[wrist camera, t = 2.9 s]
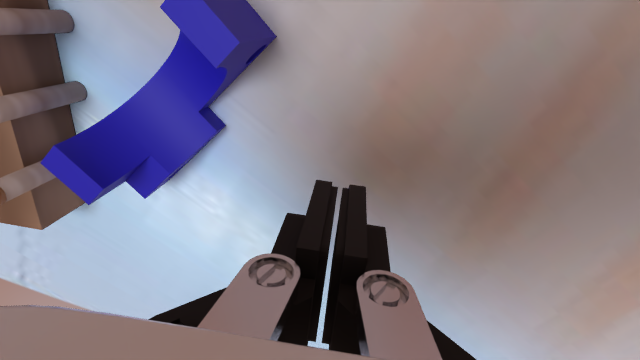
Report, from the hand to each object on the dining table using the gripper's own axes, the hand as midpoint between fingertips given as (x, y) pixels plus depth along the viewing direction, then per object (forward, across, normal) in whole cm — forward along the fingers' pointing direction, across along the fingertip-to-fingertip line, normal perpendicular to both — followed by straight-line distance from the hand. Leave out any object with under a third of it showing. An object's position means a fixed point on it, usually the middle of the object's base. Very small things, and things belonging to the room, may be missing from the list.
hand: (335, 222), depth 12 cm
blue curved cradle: (+10, +9, -1) cm, 14 cm away
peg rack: (+10, +19, -1) cm, 22 cm away
